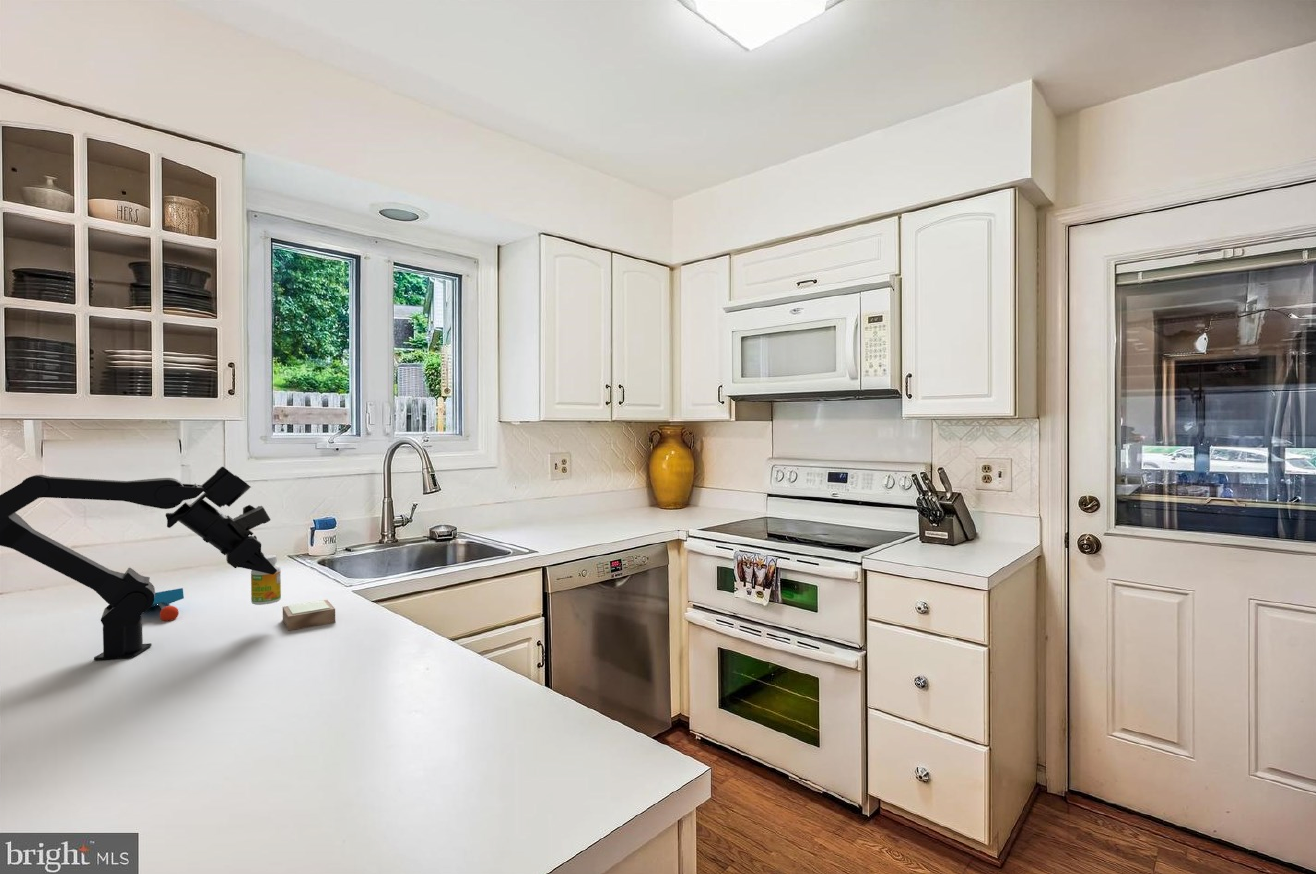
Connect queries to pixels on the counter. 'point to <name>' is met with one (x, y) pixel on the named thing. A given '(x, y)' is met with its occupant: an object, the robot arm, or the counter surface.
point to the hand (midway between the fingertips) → (273, 570)
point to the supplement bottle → (266, 584)
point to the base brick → (308, 614)
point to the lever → (167, 598)
